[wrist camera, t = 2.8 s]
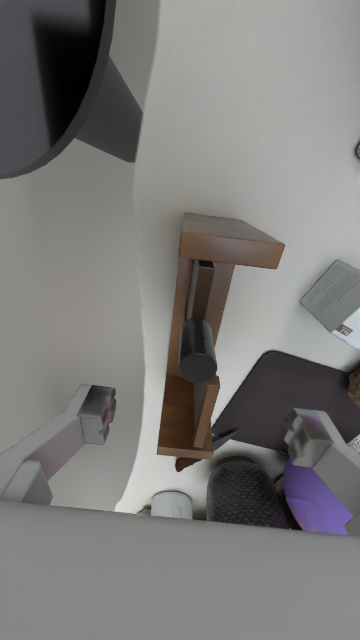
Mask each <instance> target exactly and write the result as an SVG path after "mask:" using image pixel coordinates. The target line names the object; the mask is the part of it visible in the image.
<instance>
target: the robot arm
mask: <svg viewBox="0 0 360 640" xmlns="http://www.w3.org/2000/svg"><path fill="white" fill-rule="evenodd" d="M115 394H116V390H115V388H110V387H103V386H95V385H87V384H81V385H80V386H79V387H78V389H77V391H76V393H75V394H74V396H73V398H72V399H71V401H70V403H69V405H68V406H67V408H66V410H65V412H64V413H63V415H62V414H59V415H58V416H56V417H55V418H53V419H52V420H50V421H49V422H47V423H46V424H44V425H43V426H41V427H40V428H38V429H37V430H36V431H34V432H32V433H31V434H29V435H28V436H26V437H25V438H23V439H22V440H21V441H19V442H18V443H16V444H15V445H13V446H12V447H10V448H9V449H7V450H6V451H4V452H3V453H1V454H0V640H360V453H358V452H357V451H356V450H355V449H353V448H352V447H351V446H347V445H346V443H345V441H344V440H343V438H342V437H341V435H340V433H339V432H338V430H337V429H336V427H335V425H334V424H333V422H332V421H331V419H330V417H329V416H328V414H327V413H326V412H325V411H317V410H310V409H300V408H290V409H289V410H288V412H287V414H288V417H286V418H284V419H283V421H282V423H281V433H282V437H283V439H284V441H285V442H286V443H287V444H288V445H289V446H288V449H287V450H288V453H289V455H290V458H291V461H292V463H293V465H295V466H303V467H310V468H312V469H313V470H314V472H315V473H316V474H317V475H318V476H319V477H320V479H321V480H322V481H323V482H324V483H325V484H326V486H327V487H328V488H329V489H330V490H331V492H332V493H333V494H334V495H335V496H336V497H337V499H338V500H339V501H340V502H341V503H342V504H343V506H344V507H345V508H346V509H347V510H348V511H349V513H350V514H351V515H352V516H353V517H352V518H351V519H350V520H349V521H347V522H346V524H345V526H344V527H345V529H346V531H347V533H348V535H341V534H331V533H321V532H311V531H301V530H291V529H281V528H271V527H261V526H251V525H241V524H231V523H222V522H212V521H202V520H192V519H182V518H172V517H162V516H152V515H142V514H132V513H122V512H112V511H102V510H101V511H100V510H90V509H81V508H71V507H61V506H51V505H50V503H51V500H52V498H53V496H52V493H51V490H50V488H49V485H48V482H47V481H48V480H49V479H50V478H51V477H52V476H53V475H54V474H55V473H56V472H57V471H58V470H59V469H60V468H61V467H62V466H63V465H64V464H65V463H66V462H67V461H68V460H69V459H70V458H71V457H72V456H74V455H75V454H76V453H77V452H78V450H79V449H81V448H82V447H83V446H84V444H85V443H86V444H98V445H104V444H105V441H106V438H107V436H108V433H109V424H110V423H111V422H112V421H113V417H114V414H115V410H116V400H115V399H114V397H115Z"/></svg>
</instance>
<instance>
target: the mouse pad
mask: <svg viewBox="0 0 360 640" xmlns="http://www.w3.org/2000/svg"><path fill="white" fill-rule="evenodd" d="M349 375H350V374H348V373H345V372H342V371H339V370H335V369H332V368H329V367H326V366H322V365H319V364H316V363H313V362H310V361H306V360H303V359H300V358H297V357H294V356H290V355H287V354H284V353H281V352H276V351H271V352H267V353H266V354H264V355H263V356H262V357H261V358H260V359H259V361H258V362H257V364H256V365H255V367H254V368H253V370H252V371H251V372H250V374H249V375H248V377H247V378H246V380H245V381H244V383H243V384H242V385H241V387H240V388H239V390H238V391H237V393H236V394H235V396H234V397H233V398H232V400H231V401H230V403H229V404H228V406H227V407H226V409H225V410H224V412H223V413H222V414H221V416H220V417H219V419H218V420H217V422H216V423H215V425H214V426H213V428H212V433H213V434H214V435H216V436H220V437H224V436H227V435H229V434H231V433H233V432H235V431H237V430H238V432H237V433H236V434H235V435H234V436H233V437H232V438H230V439H232V440H236V441H240V442H244V443H248V444H252V445H256V446H261V447H265V448H269V449H273V450H277V451H281V452H285V453H288V450H287V449H288V446H289V445H288V444H287V443H286V442H285V441H284V439H283V437H282V433H281V423H282V421H283V419H284V418H286V417H288V414H287V412H288V410H289V409H290V408H300V409H310V410H317V411H325V412H326V413H327V414H328V416H329V417H330V419H331V421H332V422H333V424H334V425H335V427H336V429H337V430H338V432H339V433H340V435H341V437H342V438H343V440H344V441H345V443H346V444H347V443H349V442H350V441H351V440H352V439H354V438H355V437H356V436H358V435H359V434H360V408H359V407H358V406H357V405H355V404H354V403H353V402H352V401H351V400H352V399H351V398H350V397H349V396H348V394H347V391H348V387H349V385H350V381H349Z"/></svg>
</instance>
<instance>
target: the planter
mask: <svg viewBox="0 0 360 640" xmlns="http://www.w3.org/2000/svg"><path fill="white" fill-rule="evenodd" d="M206 515H207V521H212V522H222V523H231V524H241V525H251V526H261V527H271V528H281V529H290V527H289V524H288V521H287V518H286V515H285V512H284V509H283V506H282V504H281V501H280V498H279V495H278V493H277V490H276V488H275V486H274V483H273V482H272V480H271V478H270V476H269V475H268V474H267V472H266V471H265V470H264V469H263V468H261V467H260V466H258V465H257V464H256V463H255V462H254V461H253V460H251V459H249V458H247V457H242V456H233V457H228V458H225V459H223V460H222V461H220V462H219V464H218V465H217V468H216V469H214V471H213V472H212V473H211V475H210V478H209V481H208V486H207V504H206Z"/></svg>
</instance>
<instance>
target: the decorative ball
mask: <svg viewBox="0 0 360 640" xmlns="http://www.w3.org/2000/svg"><path fill="white" fill-rule="evenodd" d="M284 490H285V496H286V501H287V503H288V505H289V507H290V510H291V512H292V514H293V516H294V517H295V519H296V521H297V522H298V524H299V525H300V527H301V528H302V531H311V532H321V533H331V534H341V535H348V533H347V531H346V529H345V527H344V526H345V524H346V522H347V521H349V520H350V519H351V518H352V517H353V516H352V515H351V514H350V513H349V511H348V510H347V509H346V508H345V507H344V506H343V504H342V503H341V502H340V501H339V500H338V499H337V497H336V496H335V495H334V494H333V493H332V492H331V490H330V489H329V488H328V487H327V486H326V484H325V483H324V482H323V481H322V480H321V479H320V477H319V476H318V475H317V474H316V473H315V472H314V470H313V469H312V468H310V467H303V466H295V465H293V463H292V461H291V458H289V459H288V461H287V463H286V466H285V470H284Z"/></svg>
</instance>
